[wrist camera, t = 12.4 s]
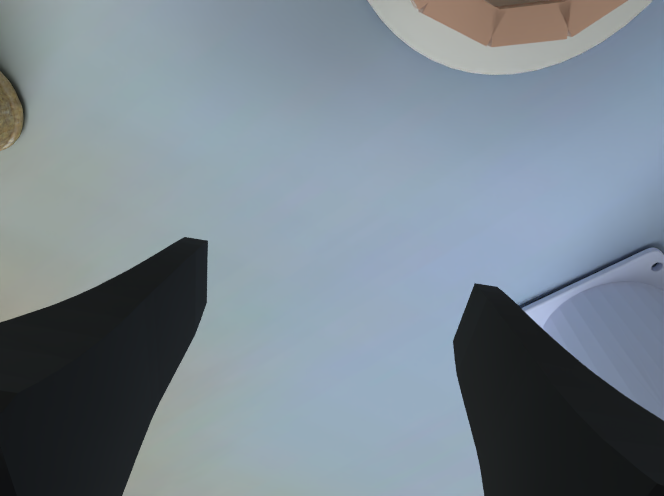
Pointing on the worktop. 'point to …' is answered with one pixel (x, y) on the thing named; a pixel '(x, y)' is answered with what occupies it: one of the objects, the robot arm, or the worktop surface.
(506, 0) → the collar dish
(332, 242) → the worktop surface
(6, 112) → the sprinkles bottle
